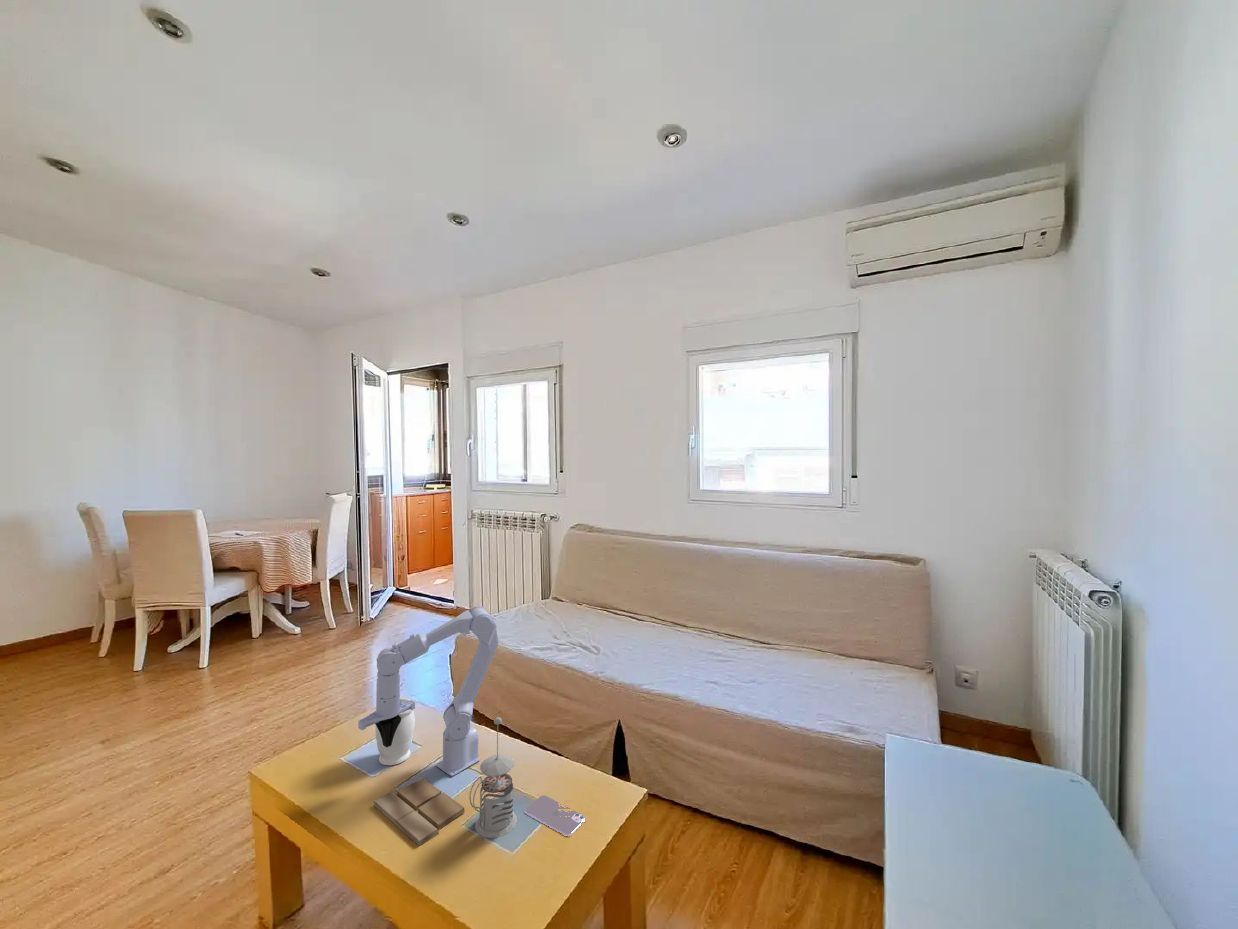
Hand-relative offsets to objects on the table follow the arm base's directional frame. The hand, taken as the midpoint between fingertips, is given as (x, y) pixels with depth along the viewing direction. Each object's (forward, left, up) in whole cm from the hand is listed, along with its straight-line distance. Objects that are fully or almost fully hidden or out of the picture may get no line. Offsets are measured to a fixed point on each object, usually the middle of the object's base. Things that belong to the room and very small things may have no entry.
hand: (387, 745), depth 129 cm
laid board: (+4, +17, -10) cm, 20 cm away
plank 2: (-2, +22, -10) cm, 24 cm away
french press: (-8, +35, -10) cm, 37 cm away
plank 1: (-3, +12, -10) cm, 16 cm away
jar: (-7, -9, -10) cm, 15 cm away
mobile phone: (-19, +45, -10) cm, 50 cm away
